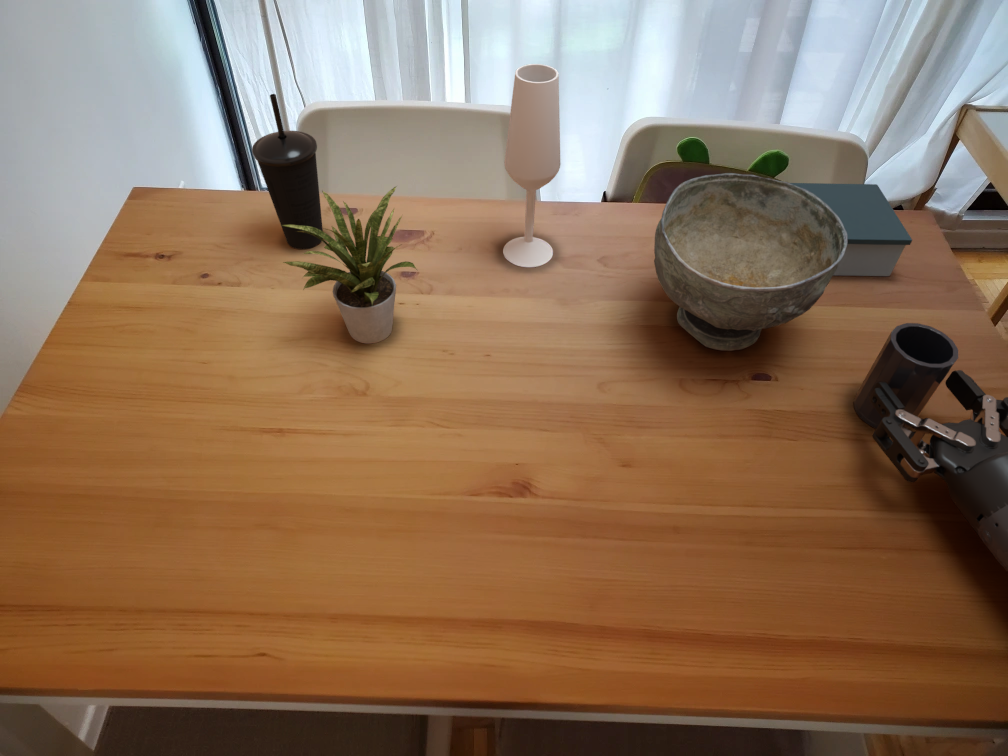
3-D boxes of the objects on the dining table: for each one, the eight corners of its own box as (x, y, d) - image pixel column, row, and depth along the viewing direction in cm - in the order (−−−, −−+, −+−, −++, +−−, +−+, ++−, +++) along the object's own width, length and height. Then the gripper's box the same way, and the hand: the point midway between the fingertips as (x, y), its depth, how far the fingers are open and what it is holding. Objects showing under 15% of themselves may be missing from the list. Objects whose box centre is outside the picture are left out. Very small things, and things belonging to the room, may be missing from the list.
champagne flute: (541, 273, 93) (553, 92, 75) (494, 258, 95) (495, 79, 77) (561, 244, 97) (577, 67, 79) (515, 231, 99) (521, 55, 81)
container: (860, 221, 102) (877, 184, 97) (892, 278, 93) (912, 240, 89) (772, 219, 102) (784, 182, 97) (796, 276, 93) (811, 238, 89)
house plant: (349, 272, 92) (328, 156, 80) (448, 297, 89) (442, 181, 77) (289, 344, 83) (255, 227, 71) (397, 376, 80) (381, 258, 68)
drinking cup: (329, 256, 94) (300, 111, 80) (270, 256, 94) (230, 110, 80) (338, 222, 100) (312, 80, 85) (282, 221, 99) (247, 79, 85)
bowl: (652, 385, 80) (678, 280, 69) (628, 274, 93) (647, 171, 82) (828, 385, 80) (882, 280, 69) (780, 275, 93) (819, 172, 82)
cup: (901, 389, 80) (942, 323, 73) (923, 433, 76) (969, 367, 68) (845, 388, 80) (881, 322, 73) (864, 432, 76) (904, 366, 68)
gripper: (1122, 479, 60) (995, 345, 71) (972, 507, 58) (864, 365, 69) (1069, 526, 66) (958, 395, 76) (930, 554, 64) (836, 415, 74)
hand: (914, 381), depth 73 cm, fingers open, 8 cm apart
